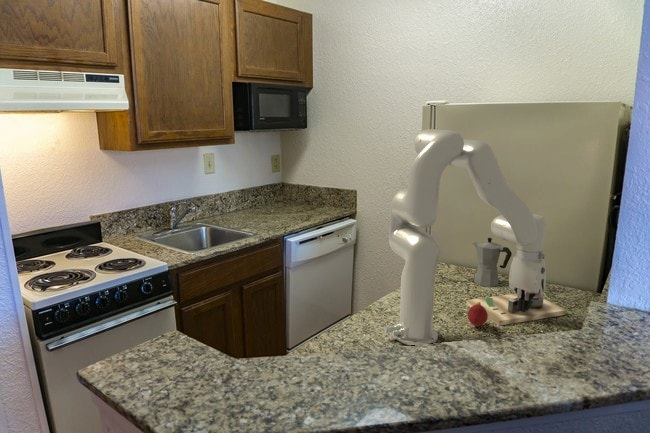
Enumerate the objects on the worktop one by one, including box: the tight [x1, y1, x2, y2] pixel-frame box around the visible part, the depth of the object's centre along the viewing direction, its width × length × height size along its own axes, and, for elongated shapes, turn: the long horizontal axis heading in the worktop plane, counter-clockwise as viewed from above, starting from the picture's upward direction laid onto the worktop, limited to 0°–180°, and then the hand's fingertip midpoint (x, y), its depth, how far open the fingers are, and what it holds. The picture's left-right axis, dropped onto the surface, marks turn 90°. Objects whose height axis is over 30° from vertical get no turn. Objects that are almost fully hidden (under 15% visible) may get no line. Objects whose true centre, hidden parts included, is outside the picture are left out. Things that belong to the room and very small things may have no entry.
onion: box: [467, 302, 488, 328], centre depth 141 cm, size 6×6×8 cm
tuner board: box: [466, 292, 568, 326], centre depth 155 cm, size 26×17×2 cm, turn 108°
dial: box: [508, 296, 545, 313], centre depth 151 cm, size 15×6×4 cm, turn 122°
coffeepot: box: [472, 237, 513, 288], centre depth 176 cm, size 15×9×18 cm, turn 43°
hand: (523, 309), depth 147 cm, fingers closed
